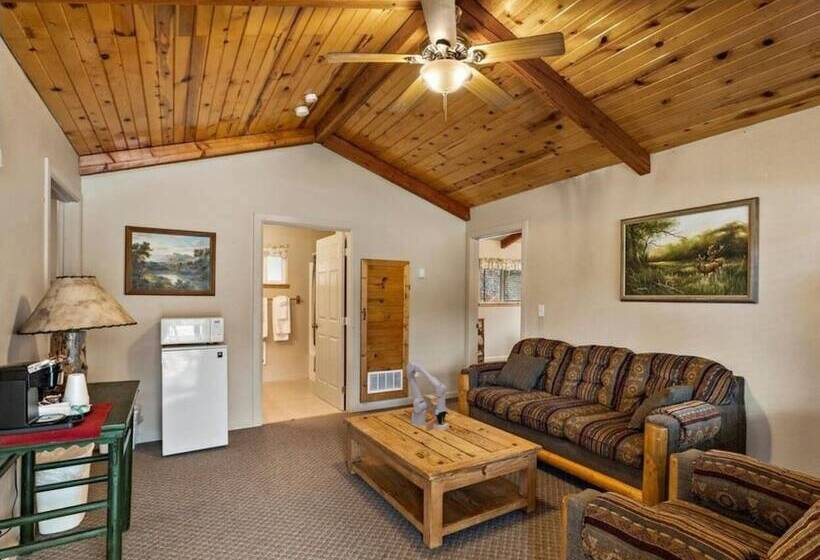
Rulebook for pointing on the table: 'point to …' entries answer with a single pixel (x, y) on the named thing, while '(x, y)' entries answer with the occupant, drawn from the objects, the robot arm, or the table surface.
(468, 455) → the table surface
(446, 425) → the beige square frame
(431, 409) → the stack of blocks
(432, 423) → the wall
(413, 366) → the robot arm
